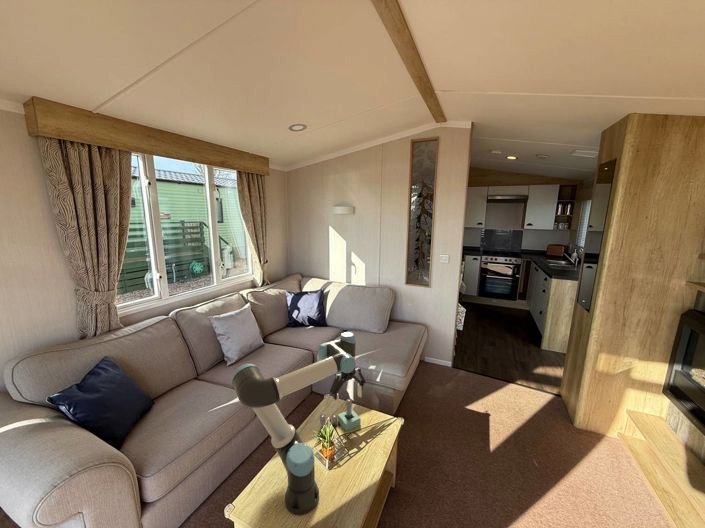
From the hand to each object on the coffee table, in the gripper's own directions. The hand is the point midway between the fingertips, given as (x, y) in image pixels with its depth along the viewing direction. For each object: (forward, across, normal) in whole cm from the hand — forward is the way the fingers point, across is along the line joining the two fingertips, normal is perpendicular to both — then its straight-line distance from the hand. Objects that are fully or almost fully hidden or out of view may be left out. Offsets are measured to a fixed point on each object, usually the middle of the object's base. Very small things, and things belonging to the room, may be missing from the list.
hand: (348, 400), depth 158 cm
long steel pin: (+29, +10, +17) cm, 35 cm away
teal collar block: (+29, +10, +17) cm, 35 cm away
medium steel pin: (+29, -6, +20) cm, 35 cm away
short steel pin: (+29, +2, +21) cm, 36 cm away
